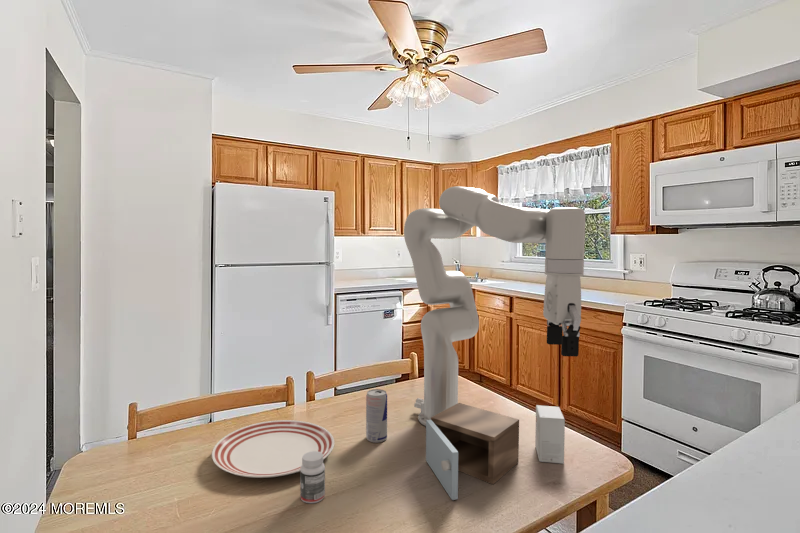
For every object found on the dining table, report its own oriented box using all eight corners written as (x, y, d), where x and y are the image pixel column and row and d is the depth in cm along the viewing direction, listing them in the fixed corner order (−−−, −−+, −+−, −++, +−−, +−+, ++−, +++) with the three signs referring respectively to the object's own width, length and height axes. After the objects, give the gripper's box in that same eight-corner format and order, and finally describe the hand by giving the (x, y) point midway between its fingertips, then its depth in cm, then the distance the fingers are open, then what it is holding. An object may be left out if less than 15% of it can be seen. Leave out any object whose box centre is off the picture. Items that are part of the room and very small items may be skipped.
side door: (420, 461, 99) (420, 420, 99) (430, 459, 100) (431, 419, 100) (445, 501, 84) (445, 453, 84) (457, 499, 85) (458, 451, 84)
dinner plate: (355, 443, 109) (355, 430, 109) (283, 503, 84) (282, 486, 84) (270, 424, 121) (269, 412, 120) (183, 471, 96) (183, 456, 96)
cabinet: (430, 459, 101) (431, 417, 100) (458, 441, 110) (459, 402, 109) (493, 484, 90) (494, 437, 90) (518, 462, 100) (519, 419, 99)
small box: (564, 464, 99) (565, 419, 98) (538, 462, 100) (539, 417, 99) (558, 448, 107) (559, 406, 106) (534, 446, 108) (535, 404, 107)
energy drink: (390, 435, 113) (390, 390, 113) (382, 444, 108) (382, 397, 108) (371, 432, 115) (371, 387, 114) (362, 441, 110) (362, 394, 109)
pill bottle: (302, 490, 88) (301, 450, 88) (325, 489, 88) (325, 449, 88) (298, 504, 83) (298, 462, 83) (323, 503, 84) (323, 461, 83)
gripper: (534, 265, 99) (532, 340, 100) (559, 270, 81) (556, 360, 82) (568, 265, 98) (565, 340, 99) (600, 271, 81) (596, 361, 82)
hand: (561, 349), depth 91 cm, fingers open, 9 cm apart
